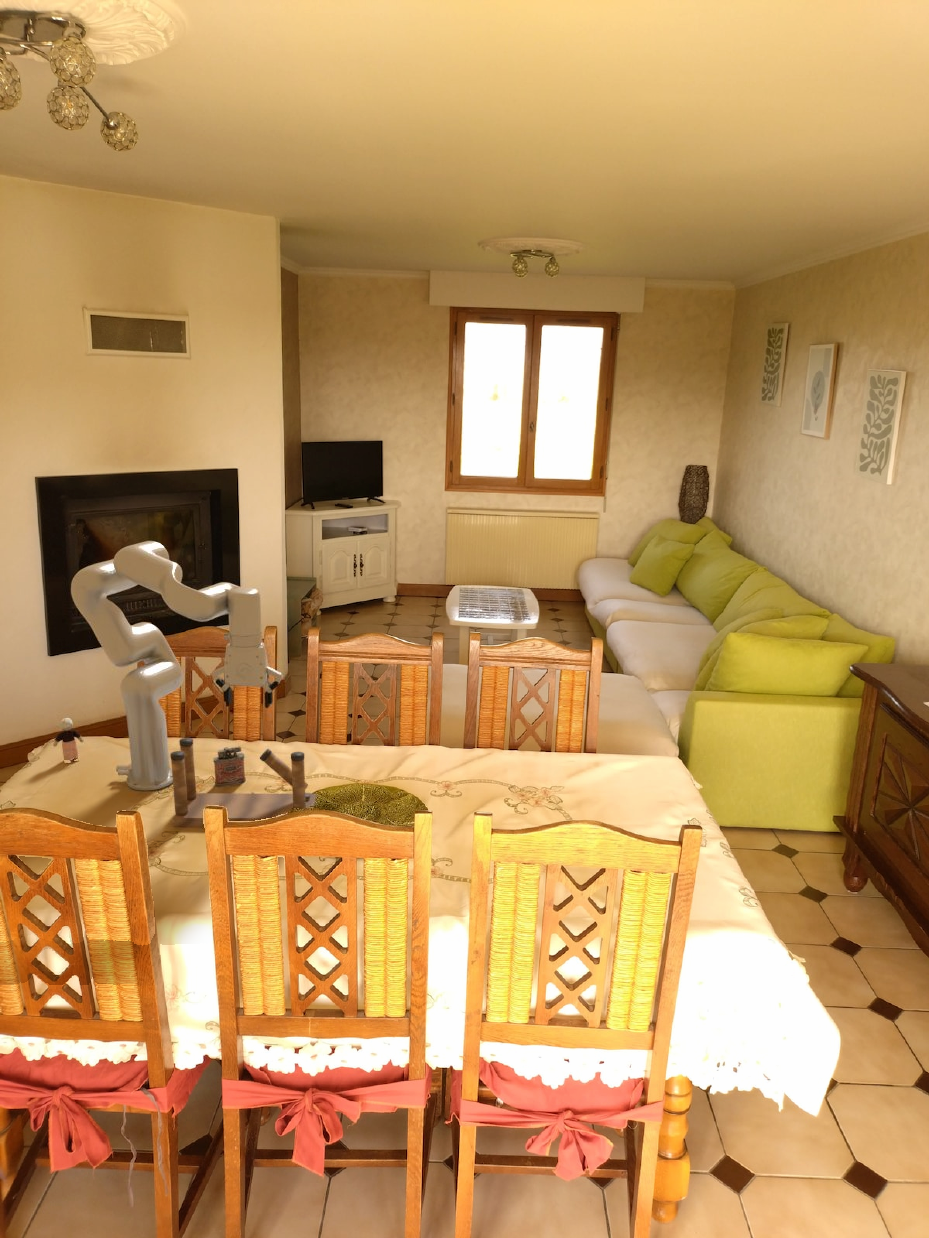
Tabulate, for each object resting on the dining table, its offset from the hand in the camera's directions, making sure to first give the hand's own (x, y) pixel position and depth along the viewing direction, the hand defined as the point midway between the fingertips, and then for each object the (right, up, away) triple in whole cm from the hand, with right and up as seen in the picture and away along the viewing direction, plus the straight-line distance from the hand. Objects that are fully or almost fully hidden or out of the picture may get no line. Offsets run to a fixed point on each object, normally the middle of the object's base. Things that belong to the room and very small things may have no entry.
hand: (248, 705), depth 232 cm
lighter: (-9, -22, +18) cm, 30 cm away
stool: (-1, -27, +2) cm, 27 cm away
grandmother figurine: (-56, -18, +30) cm, 66 cm away
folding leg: (+7, -18, +3) cm, 19 cm away
